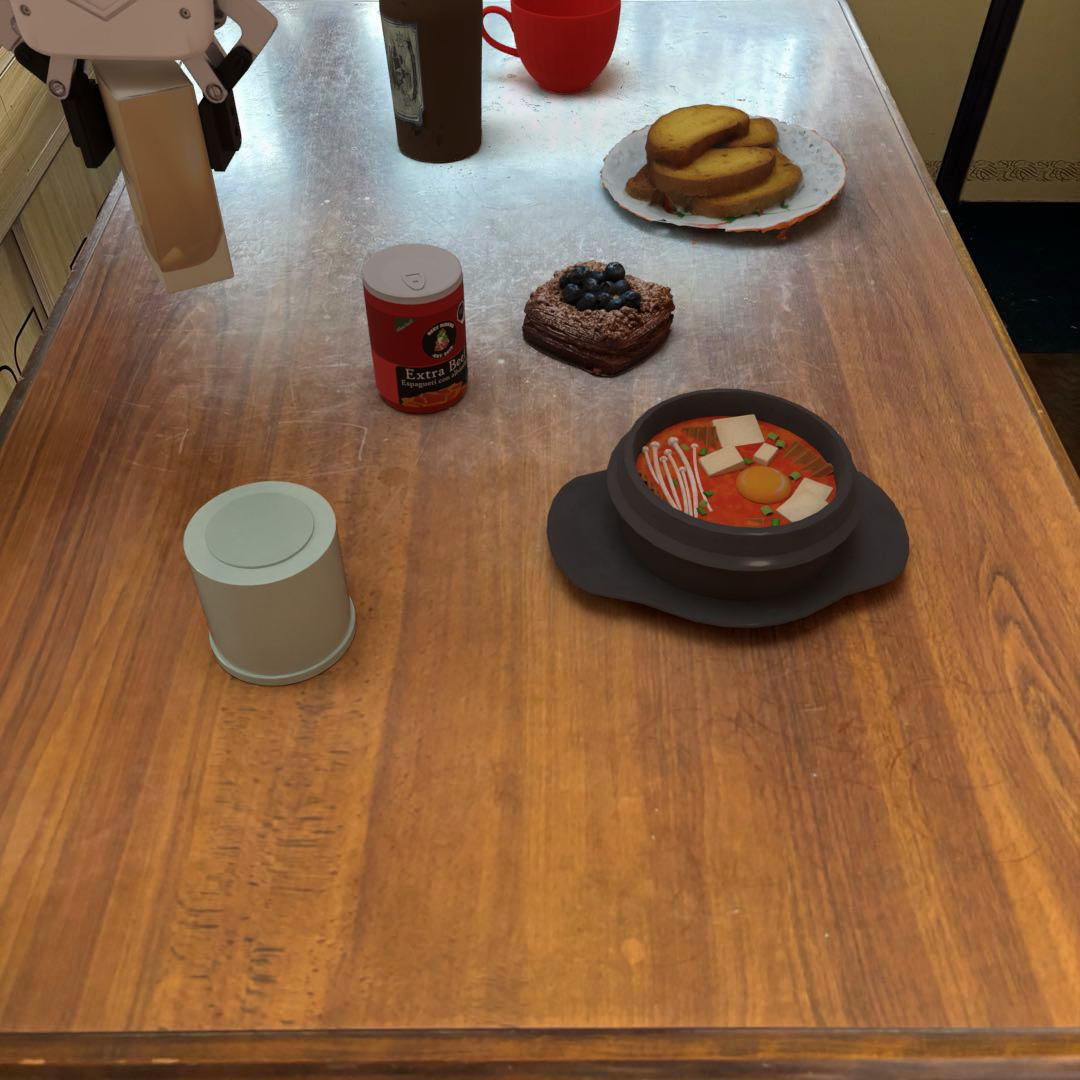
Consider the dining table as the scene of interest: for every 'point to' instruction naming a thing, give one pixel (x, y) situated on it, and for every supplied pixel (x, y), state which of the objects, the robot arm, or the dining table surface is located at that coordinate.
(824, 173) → the food on plate
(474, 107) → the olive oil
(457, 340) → the canned food
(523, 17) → the ceramic cup
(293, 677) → the upturned cup
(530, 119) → the dining table surface
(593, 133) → the dining table surface
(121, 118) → the cosmetic box
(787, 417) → the casserole
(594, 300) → the pastry
